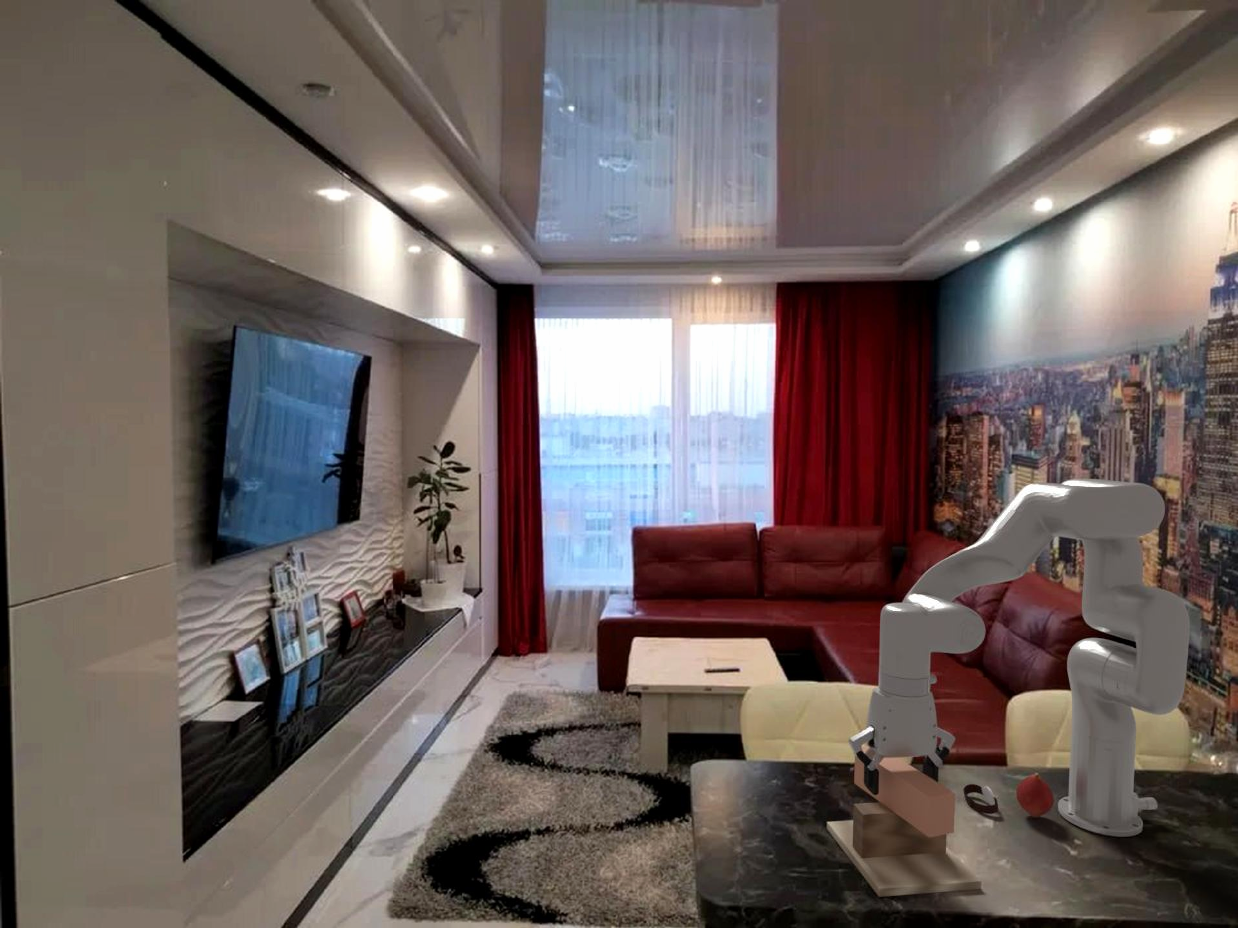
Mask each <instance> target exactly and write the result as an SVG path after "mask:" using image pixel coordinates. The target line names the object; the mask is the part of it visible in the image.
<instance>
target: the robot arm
mask: <svg viewBox="0 0 1238 928" xmlns="http://www.w3.org/2000/svg"><path fill="white" fill-rule="evenodd" d="M1165 512H1166V506H1165V501H1164V499H1163V497H1162V495H1161V494H1160V492H1159V491H1158V490H1157V489H1156V488H1154V487H1152V486H1151V485H1149V484H1146V483H1141V482H1133V481H1131V482H1130V481H1119V480H1109V479H1099V478H1097V479H1096V478H1083V477H1082V478H1080V477H1079V478H1071V479H1068V480H1065V481H1063V482H1061V483H1055V482H1034V483H1029V484H1027V485H1025V486H1023V487H1022V488H1021V489H1020V490H1019V491H1017V493H1015V495H1014V497H1013V498H1012V499H1011V500H1010V501H1009V502H1008V504H1007V505H1006V506H1005V508H1004V509H1003V510H1002V511H1001V512H1000V513H999V515H998V516H997V518H996V519H995V520H994V521H992V523H991V525H989V527H988V528H987V529H986V530H985V531H984V533H983V534H982V535H981V536H980V537H979V539H978V540H977V541H976V542H974V543H973V544H972V545H969V546H967V547H964V548H963V549H960V550H959V551H956V553H953V554H952V555H950V556H948V557H946V558H944V559H942V560H940V561H939V562H937V563H936V564H934V565H933V566H932V567H930V568H928V570H926V571H925V572H924V573H923V574H922V575H921V576H920V577H919V579H918V580H917V582H916V583H915V584H914V585H913V586H912V587H911V588H910V590H909V591H908V592H907V593H906V594H905V596H904V598H903V600H902V602H892V603H888V604H885V605H884V606H883V607H882V609H881V611H880V618H879V619H880V620H879V622H880V623H879V656H878V657H879V659H878V660H879V661H878V687H873V689H872V692H871V696H870V700H869V703H868V709H867V710H868V711H867V715H866V716H867V718H866V725H865V726H866V727H865V728H864V730H862V731H860V732H858V733H856V734H855V735H853V736H851V737H850V738H848V743H849V746H850V748H851V750H852V751H853V754H854V756H855V755H856V756H857V757H858V758H859V759H860V760H861V761H862V762H863V763H864V785H865V786H866V788H867V789H868V790H869V791H870V792H871V793H872V794H873V795H878V793H879V771H878V770H877V769H876V767H877V766H878V764H879V763H880V762H881V761H882V760H883V758H899V759H900V758H913V757H915V758H916V757H918V758H919V757H925V758H923V760H922V773H923V774H925V775H927V776H928V777H930V778H931V779H933V780H935V781H936V782H938V783H939V767H940V768H941V766H942V765H943V761H944V760H945V759H946V758H947V757H948V756H949V754H950V753H951V752H950V751H951V749H952V747H953V745H954V744H955V742H956V737H955V736H954V735H953V734H951V733H950V732H948V731H946V730H944V729H942V728H940V727H938V722H937V711H936V705H935V698H934V695H933V693H932V691H930V690H931V685H932V684H936V683H937V681H938V680H937V676H936V675H935V674H931V653H948V654H966V653H970V652H972V651H974V650H975V649H977V648H978V647H980V645H981V644H982V643H983V641H984V639H985V638H986V637H985V635H986V626H985V625H986V624H985V622H984V620H983V618H982V617H981V616H980V615H979V614H978V613H977V612H976V611H975V610H973V609H971V608H970V607H967V606H965V605H962V604H958V603H956V602H953V601H954V600H955V599H956V598H957V597H960V596H961V595H962V594H964V593H965V592H968V591H970V590H973V589H976V588H979V587H984V586H988V585H989V586H990V585H994V584H1001V583H1005V582H1009V581H1010V582H1011V581H1013V580H1017V579H1019V578H1021V577H1023V576H1024V575H1025V574H1026V573H1027V571H1028V570H1029V569H1030V567H1031V566H1032V565H1033V564H1034V563H1035V561H1036V560H1037V558H1038V557H1039V556H1040V555H1041V554H1042V553H1043V551H1045V549H1046V548H1047V546H1048V545H1050V543H1051V541H1052V540H1053V539H1055V538H1056V537H1060V538H1066V539H1067V538H1068V539H1073V540H1079V541H1081V543H1082V547H1083V550H1084V568H1083V582H1082V583H1083V584H1082V597H1081V612H1082V613H1081V615H1082V618H1083V620H1084V621H1085V623H1086V625H1088V626H1090V627H1091V628H1092V629H1094V630H1096V631H1099V632H1102V633H1105V634H1108V635H1112V636H1115V637H1118V638H1121V639H1125V640H1129V641H1132V642H1135V646H1136V648H1135V647H1134V646H1130V645H1126V644H1124V643H1119V642H1117V641H1114V640H1110V639H1105V638H1099V637H1089V638H1087V637H1086V638H1083V639H1081V640H1079V641H1077V642H1076V643H1074V645H1073V646H1072V647H1071V649H1070V650H1069V653H1068V655H1067V661H1066V666H1067V667H1066V669H1067V675H1068V676H1067V677H1068V681H1069V687H1070V692H1071V706H1072V707H1071V729H1070V748H1069V749H1070V750H1069V751H1070V752H1069V753H1070V755H1069V756H1070V757H1069V774H1068V775H1069V776H1068V777H1069V778H1068V795H1067V796H1064V797H1062V798H1061V799H1059V801H1058V804H1057V810H1058V813H1059V814H1060V815H1061V816H1062V817H1063V819H1065V820H1066V821H1068V822H1070V823H1071V824H1073V825H1074V826H1077V827H1079V828H1080V829H1084V830H1087V831H1089V832H1092V833H1095V834H1099V835H1103V836H1110V837H1118V838H1119V837H1120V838H1125V837H1135V836H1136V835H1137V836H1138V835H1139V834H1140V833H1142V831H1143V827H1144V823H1143V819H1142V818H1141V817H1140V816H1139V815H1138V814H1139V813H1141V812H1142V811H1143V810H1146V811H1147V810H1148V811H1149V810H1157V808H1158V801H1157V800H1156V798H1154V797H1141V798H1139V795H1138V794H1137V792H1134V782H1135V779H1134V778H1135V763H1136V762H1135V760H1136V741H1137V723H1136V718H1135V715H1134V711H1133V709H1132V708H1134V709H1136V710H1138V711H1141V712H1144V713H1146V714H1147V713H1148V714H1149V715H1150V714H1152V715H1155V716H1157V715H1159V716H1160V715H1161V716H1163V715H1167V714H1170V713H1171V712H1173V711H1174V710H1176V708H1177V707H1178V706H1179V705H1180V703H1181V701H1182V698H1183V696H1184V692H1185V687H1186V680H1187V669H1188V656H1189V644H1190V633H1191V632H1190V627H1191V622H1190V616H1189V615H1190V614H1189V612H1188V609H1187V607H1186V604H1185V603H1184V602H1183V600H1182V599H1181V598H1180V597H1179V596H1178V595H1177V594H1175V593H1173V592H1172V591H1169V590H1167V589H1164V588H1160V587H1155V586H1152V585H1150V586H1149V585H1145V583H1144V578H1143V570H1144V567H1143V566H1144V555H1143V554H1144V553H1143V549H1142V545H1141V543H1140V540H1139V538H1140V537H1143V536H1146V535H1148V534H1151V533H1152V532H1154V531H1155V530H1156V529H1157V528H1158V527H1159V526H1160V525H1161V523H1162V521H1163V519H1164V517H1165ZM1138 537H1139V538H1138ZM938 738H940V743H939V744H938ZM864 744H866V746H867V747H868V746H869V749H868V750H867V751H866V752H865V753H864V752H863V750H862V747H863V745H864Z"/></svg>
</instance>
